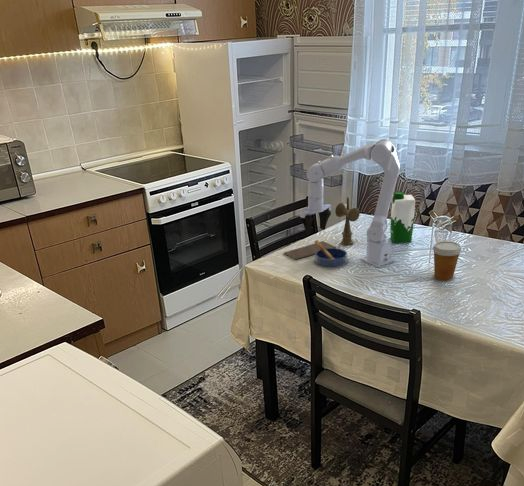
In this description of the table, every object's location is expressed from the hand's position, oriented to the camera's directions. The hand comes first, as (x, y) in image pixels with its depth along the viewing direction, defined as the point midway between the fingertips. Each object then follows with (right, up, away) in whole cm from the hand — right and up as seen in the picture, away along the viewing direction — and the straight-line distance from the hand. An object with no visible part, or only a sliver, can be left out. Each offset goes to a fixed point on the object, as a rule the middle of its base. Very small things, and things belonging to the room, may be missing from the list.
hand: (315, 231), depth 213 cm
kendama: (+15, -2, +15) cm, 21 cm away
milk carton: (+37, -1, +15) cm, 40 cm away
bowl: (+6, -12, -1) cm, 14 cm away
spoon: (+5, -11, +1) cm, 12 cm away
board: (-1, -6, +10) cm, 12 cm away
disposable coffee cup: (+44, -21, -19) cm, 52 cm away
